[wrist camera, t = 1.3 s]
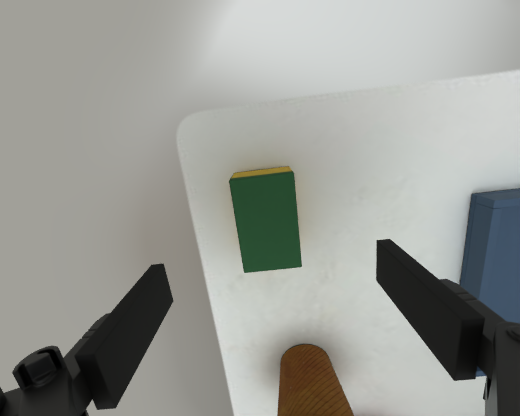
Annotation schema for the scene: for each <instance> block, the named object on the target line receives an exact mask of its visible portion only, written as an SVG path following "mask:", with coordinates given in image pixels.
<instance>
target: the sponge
mask: <svg viewBox="0 0 520 416" xmlns="http://www.w3.org/2000/svg"><path fill="white" fill-rule="evenodd" d="M229 183H230V189H231V195H232V201H233V207H234V214H235V220H236V226H237V232H238V238H239V244H240V250H241V257H242V263H243V269H244V273H248V272H258V271H268V270H277V269H287V268H297V267H302V263H301V251H300V239H299V227H298V216H297V204H296V192H295V180H294V173H293V171H292V170H291V168H290V167H289V166H287V167H279V168H271V169H262V170H254V171H246V172H238V173H234V175H233V176H232V177H231V179H230V180H229Z"/></svg>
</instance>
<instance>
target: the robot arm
mask: <svg viewBox="0 0 520 416" xmlns="http://www.w3.org/2000/svg"><path fill="white" fill-rule="evenodd" d="M376 280H377V282H378V283H379V284H380V286H381V287H382V288H383V290H384V291H385V292H386V293H387V295H388V296H389V297H390V299H391V300H392V301H393V302H394V304H395V305H396V306H397V308H398V309H399V310H400V311H401V313H402V314H403V315H404V317H405V318H406V319H407V320H408V322H409V323H410V324H411V326H412V327H413V328H414V329H415V331H416V332H417V333H418V335H419V336H420V337H421V338H422V340H423V341H424V342H425V344H426V345H427V346H428V348H429V349H430V350H431V351H432V353H433V354H434V355H435V357H436V358H437V359H438V360H439V362H440V363H441V364H442V366H443V367H444V368H445V369H446V371H447V372H448V373H449V375H450V376H451V377H452V378H453V380H454V381H457V380H469V379H476V372H477V366H478V367H479V368H480V369H481V370H482V371H483V373H484V374H485V375H486V376H487V378H486V383H485V389H484V395H483V399H484V400H485V416H520V323H515V322H507V321H506V320H504V319H503V318H502V317H501V316H499V315H498V314H497V313H495V312H494V311H493V310H491V309H490V308H489V307H487V306H486V305H485V304H484V303H482V302H481V301H480V300H477V298H476V297H474V296H473V295H472V294H469V292H468V291H467V290H465V289H464V288H463V287H461V286H460V285H459V284H456V283H454V282H452V281H450V280H448V279H441V280H439V279H438V278H436V277H435V276H434V275H433V274H432V273H430V272H429V271H428V270H427V269H425V268H424V267H423V266H422V265H421V264H419V263H418V262H417V261H416V260H415V259H413V258H412V257H411V256H410V255H409V254H407V253H406V252H405V251H404V250H402V249H401V248H400V247H399V246H398V245H396V244H395V243H394V242H393V241H392V240H390V239H385V240H377V268H376ZM172 302H173V298H172V294H171V290H170V286H169V282H168V279H167V275H166V272H165V267H164V264H156V265H151V266H150V267H149V269H148V270H147V271H146V272H145V273H144V274H143V276H142V277H141V278H140V279H139V280H138V281H137V283H136V284H135V285H134V286H133V288H132V289H131V290H130V291H129V292H128V293H127V294H126V295H125V297H124V298H123V299H122V300H121V301H120V302H119V304H118V305H117V306H116V307H115V309H114V310H113V311H112V312H111V313H109V314H105V315H104V316H103V317H101V318H100V319H99V320H97V321H96V322H95V323H94V324H93V325H92V326H91V328H90V329H89V330H88V332H86V333H85V334H84V335H83V337H82V339H80V340H79V341H78V342H77V343H76V344H75V346H74V347H73V348H72V349H71V350H70V351H69V352H68V353H67V354H66V356H65V357H64V358H63V357H62V355H61V353H60V350H59V348H58V347H56V346H48V347H45V348H42V349H39V350H37V351H35V352H33V353H32V354H30V355H28V356H27V357H26V358H24V359H23V360H22V361H21V362H20V363H19V364H18V365H17V366H16V367H15V368H14V370H13V375H14V377H15V379H16V381H17V383H18V385H19V386H20V388H17V389H14V390H11V391H8V392H5V393H3V391H2V389H1V388H0V416H89V415H88V413H87V410H86V408H87V406H88V405H89V404H90V402H91V400H92V399H93V401H94V403H95V406H96V408H97V410H100V409H112V408H116V407H117V405H118V403H119V401H120V399H121V397H122V395H123V394H124V392H125V390H126V388H127V386H128V384H129V382H130V381H131V379H132V377H133V375H134V373H135V371H136V369H137V368H138V366H139V364H140V362H141V360H142V358H143V356H144V355H145V353H146V351H147V349H148V347H149V345H150V343H151V342H152V340H153V338H154V336H155V334H156V332H157V330H158V329H159V327H160V325H161V323H162V321H163V319H164V317H165V316H166V314H167V312H168V310H169V308H170V306H171V304H172Z"/></svg>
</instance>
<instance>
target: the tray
mask: <svg viewBox="0 0 520 416" xmlns="http://www.w3.org/2000/svg"><path fill="white" fill-rule="evenodd" d="M460 286H461V287H463V288H464V289H465V290H467V291H468V292H469V294H472V295H473V296H474V297H476V298H477V300H480V301H481V302H482V303H484V304H485V305H486V306H487V307H489V308H490V309H491V310H493V311H494V312H495V313H497V314H498V315H499V316H501V317H502V318H503V319H504V320H506V321H507V322H515V323H520V189H511V190H502V191H493V192H484V193H475V194H472V198H471V205H470V213H469V221H468V228H467V236H466V243H465V251H464V258H463V266H462V273H461V281H460ZM478 376H486V375H485V374H484V373H483V371H482V370H481V369H480V368H479V367H478V366H477V372H476V377H478Z"/></svg>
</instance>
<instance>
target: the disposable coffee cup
mask: <svg viewBox="0 0 520 416" xmlns="http://www.w3.org/2000/svg"><path fill="white" fill-rule="evenodd" d="M277 416H354V414H353V412H352V410H351V408H350V405H349V403H348V401H347V398H346V396H345V394H344V391H343V389H342V387H341V385H340V382H339V380H338V378H337V376H336V373H335V371H334V369H333V366H332V364H331V362H330V360H329V357H328V355H327V353H326V352H325V351H324V350H323V349H321V348H319V347H317V346H314V345H308V344H304V345H298V346H295V347H293V348H291V349H289V350H288V351H286V353H285V354H284V355H283V357H282V359H281V367H280V383H279V400H278V415H277Z"/></svg>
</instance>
